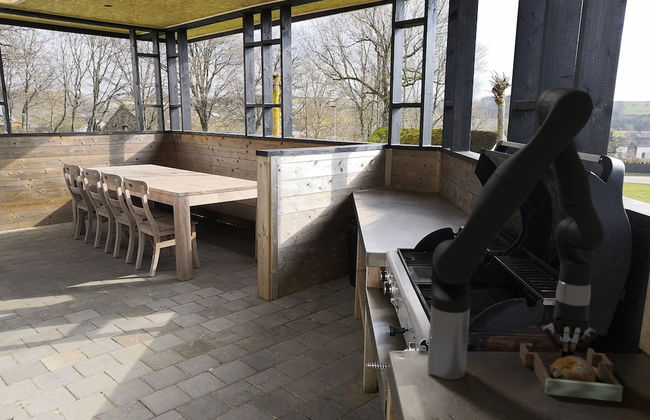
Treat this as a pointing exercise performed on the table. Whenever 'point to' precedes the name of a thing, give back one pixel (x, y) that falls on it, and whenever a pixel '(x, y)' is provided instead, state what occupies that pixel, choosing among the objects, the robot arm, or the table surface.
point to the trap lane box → (580, 389)
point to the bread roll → (572, 369)
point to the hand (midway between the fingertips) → (565, 363)
